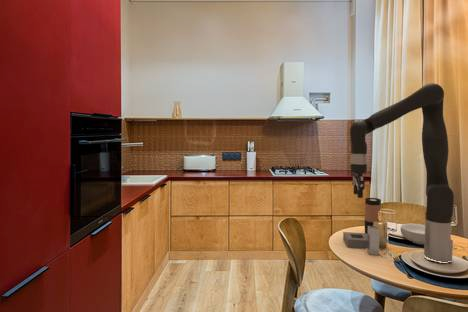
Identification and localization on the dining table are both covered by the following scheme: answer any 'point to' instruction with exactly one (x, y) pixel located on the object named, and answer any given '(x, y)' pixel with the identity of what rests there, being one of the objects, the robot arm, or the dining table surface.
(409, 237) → the cereal bowl
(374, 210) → the travel mug
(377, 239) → the square bit
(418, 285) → the dining table surface
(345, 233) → the socket block
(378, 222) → the round bit
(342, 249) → the dining table surface
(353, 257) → the dining table surface
